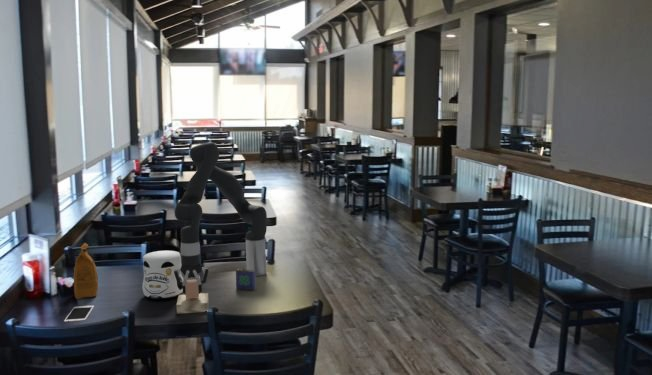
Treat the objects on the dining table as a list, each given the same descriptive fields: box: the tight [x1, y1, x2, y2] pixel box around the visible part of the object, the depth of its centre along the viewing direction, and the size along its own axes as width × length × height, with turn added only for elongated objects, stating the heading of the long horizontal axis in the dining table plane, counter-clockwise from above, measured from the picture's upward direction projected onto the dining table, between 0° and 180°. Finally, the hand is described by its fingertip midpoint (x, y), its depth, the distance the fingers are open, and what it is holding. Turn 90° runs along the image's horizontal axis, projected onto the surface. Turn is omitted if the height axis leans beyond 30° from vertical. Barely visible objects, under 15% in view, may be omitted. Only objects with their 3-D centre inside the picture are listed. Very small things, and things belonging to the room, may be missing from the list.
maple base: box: [176, 292, 209, 315], centre depth 235 cm, size 12×12×4 cm
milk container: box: [141, 250, 184, 300], centre depth 249 cm, size 17×17×18 cm
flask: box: [235, 265, 257, 292], centre depth 256 cm, size 9×3×11 cm, turn 74°
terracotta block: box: [185, 278, 199, 298], centre depth 234 cm, size 5×5×6 cm
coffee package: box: [73, 242, 99, 300], centre depth 250 cm, size 10×12×22 cm
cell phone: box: [63, 305, 95, 323], centre depth 230 cm, size 8×16×1 cm, turn 10°
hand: (192, 293), depth 235 cm, fingers closed on terracotta block, 4 cm apart
